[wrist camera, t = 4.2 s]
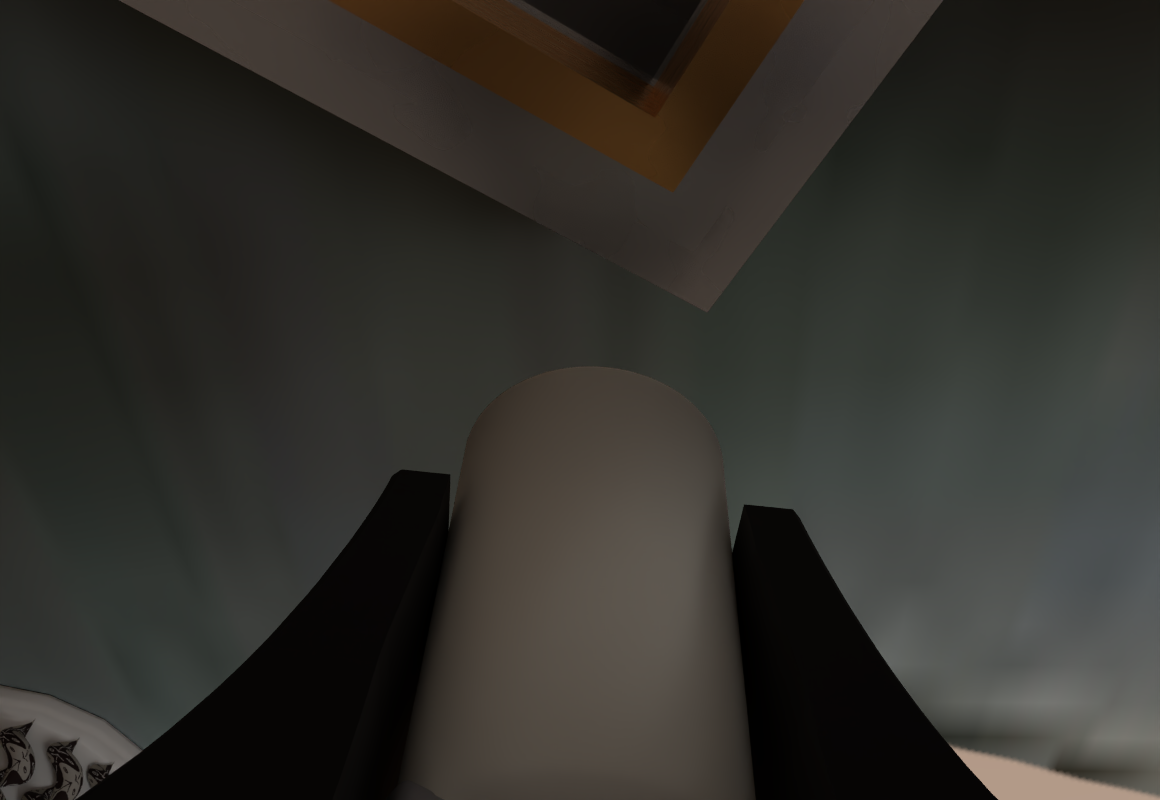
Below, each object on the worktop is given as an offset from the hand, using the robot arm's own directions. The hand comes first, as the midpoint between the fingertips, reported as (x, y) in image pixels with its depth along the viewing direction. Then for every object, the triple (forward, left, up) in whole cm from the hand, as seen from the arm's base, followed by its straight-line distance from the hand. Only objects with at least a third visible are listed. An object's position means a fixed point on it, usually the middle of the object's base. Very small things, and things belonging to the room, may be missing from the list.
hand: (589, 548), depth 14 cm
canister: (0, 0, -2) cm, 2 cm away
